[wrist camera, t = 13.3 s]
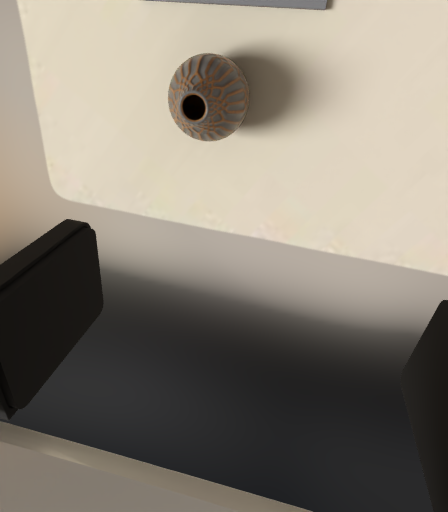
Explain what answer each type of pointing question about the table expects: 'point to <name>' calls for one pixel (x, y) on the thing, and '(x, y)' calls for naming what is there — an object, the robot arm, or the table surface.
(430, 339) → the robot arm
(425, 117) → the table surface
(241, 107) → the vase
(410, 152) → the table surface
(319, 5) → the mat
